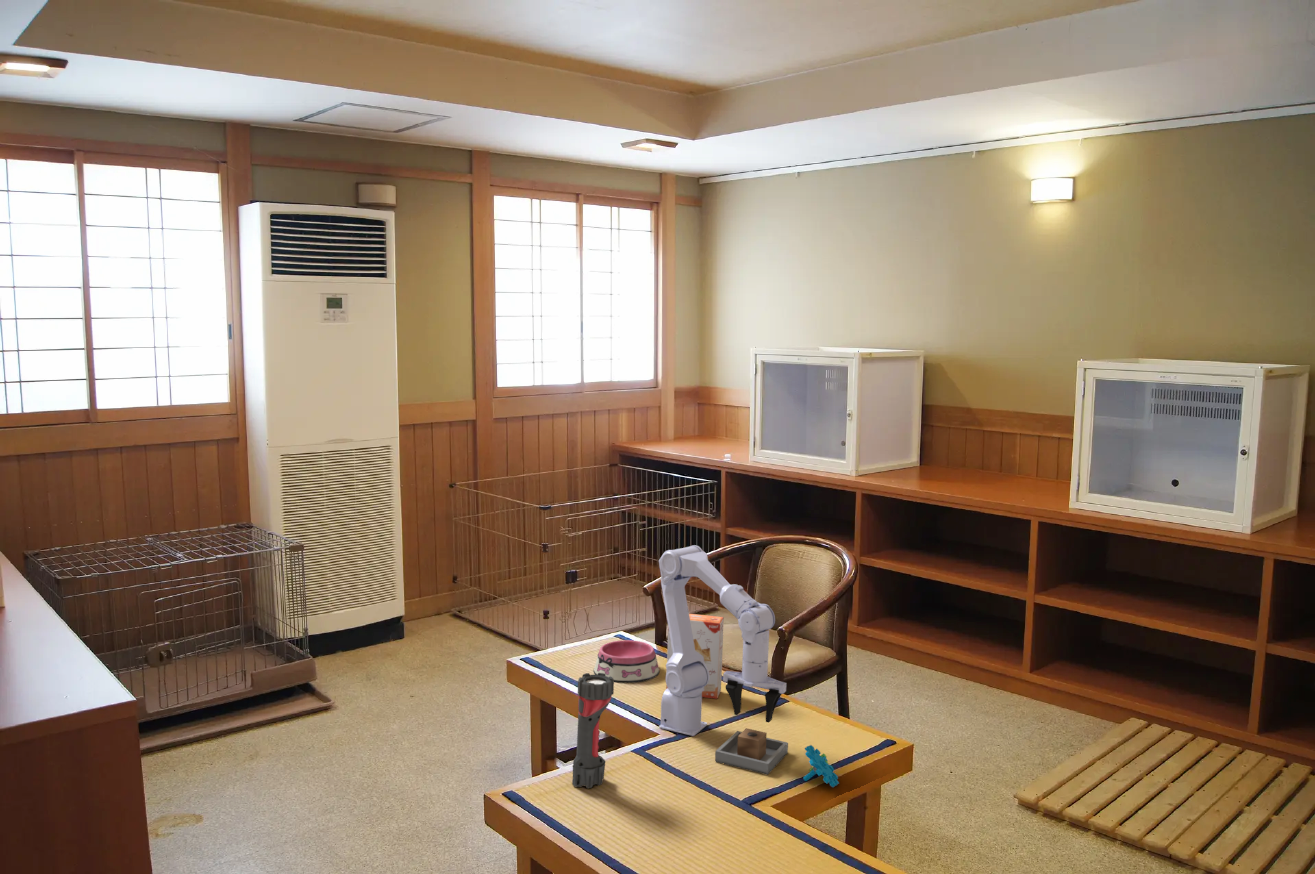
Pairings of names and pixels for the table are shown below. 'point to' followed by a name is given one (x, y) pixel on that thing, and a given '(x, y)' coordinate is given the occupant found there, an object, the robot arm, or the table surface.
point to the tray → (765, 765)
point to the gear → (820, 766)
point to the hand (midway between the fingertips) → (753, 717)
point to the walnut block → (752, 744)
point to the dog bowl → (627, 661)
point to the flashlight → (590, 728)
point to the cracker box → (707, 649)
